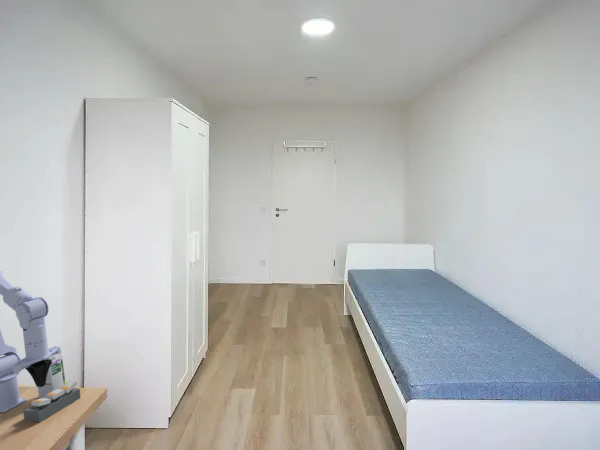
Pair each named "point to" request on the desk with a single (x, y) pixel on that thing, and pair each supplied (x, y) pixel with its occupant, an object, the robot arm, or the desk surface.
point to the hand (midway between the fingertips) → (40, 385)
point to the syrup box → (53, 376)
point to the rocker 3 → (69, 386)
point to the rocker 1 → (40, 402)
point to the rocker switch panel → (51, 406)
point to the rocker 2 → (55, 394)
